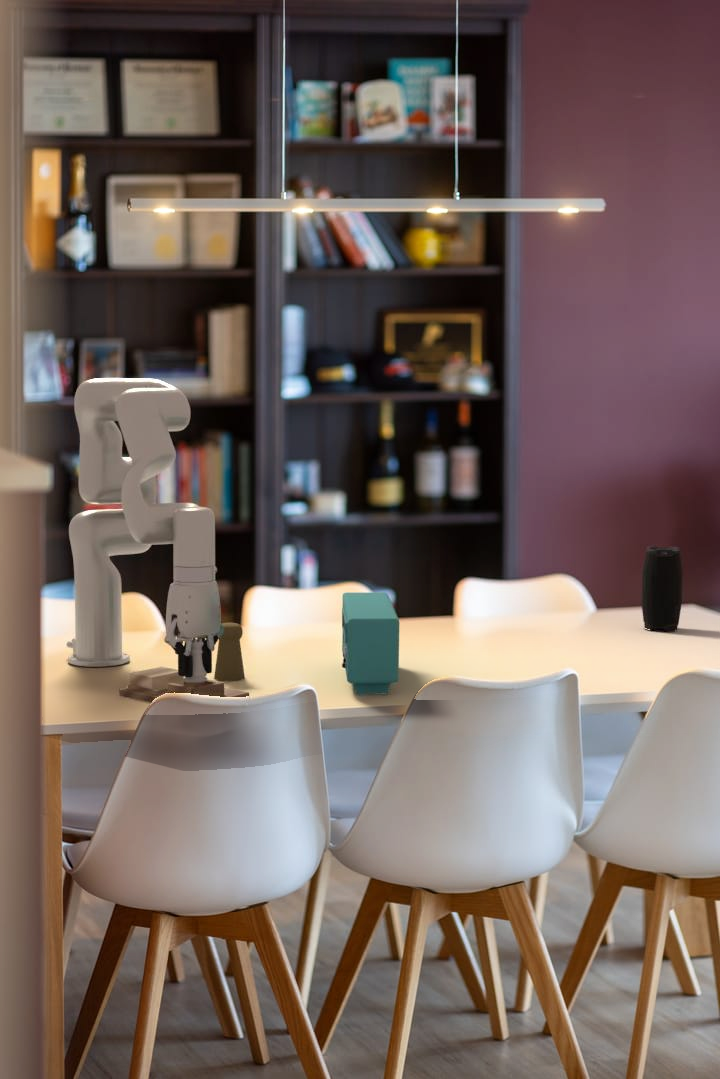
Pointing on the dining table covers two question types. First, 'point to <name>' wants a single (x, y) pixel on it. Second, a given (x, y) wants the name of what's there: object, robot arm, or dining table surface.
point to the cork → (229, 654)
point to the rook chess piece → (197, 663)
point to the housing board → (182, 690)
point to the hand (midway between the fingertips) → (195, 673)
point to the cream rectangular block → (156, 678)
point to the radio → (370, 642)
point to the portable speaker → (662, 588)
